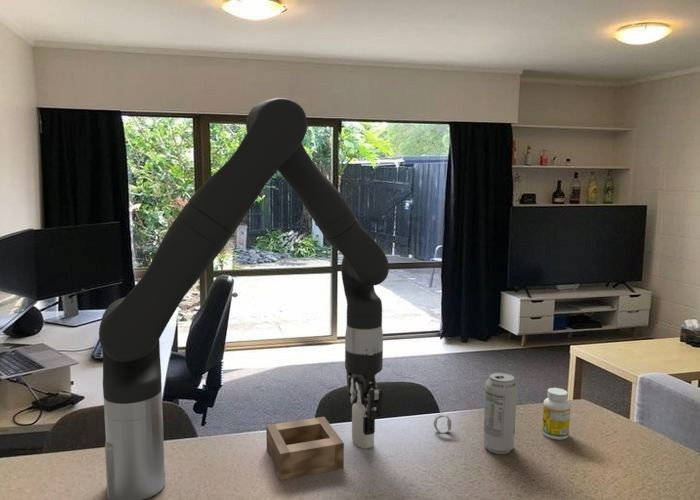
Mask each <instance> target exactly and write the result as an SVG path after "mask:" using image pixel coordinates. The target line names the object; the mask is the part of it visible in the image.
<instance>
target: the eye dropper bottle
mask: <svg viewBox="0 0 700 500" xmlns="http://www.w3.org/2000/svg"><path fill="white" fill-rule="evenodd" d="M363 399H364V400H365V401H367V400H368V398H363ZM352 404H353V403H352ZM367 405H368V404H367ZM363 416H364V415H363V408H362V405H360V404H359V396H358V393H357V402H356V403H354V404H353V406H352V405H351V440H352V442H353V443H354V445H356V446H357V447H360V449H361V448H362V449H370V448H373V447H374V446H375V432H374V433H373V434H369V435H365V434H364V433H363Z"/></svg>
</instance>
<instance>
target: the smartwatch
mask: <svg viewBox="0 0 700 500" xmlns="http://www.w3.org/2000/svg"><path fill="white" fill-rule="evenodd" d="M443 417H444V418H447V425H446V427H447V428H445V429H439V428H438V426H437V424H438V420H439V419H440V418H443ZM433 427H434V429H435V430H436V431H437V432H438V433H440V434H446V433H448V432H449V431H451V430H452V418H451V417H450V416H449V415H448V414H447V413H438V414H437V415H435V417H434V420H433Z"/></svg>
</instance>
